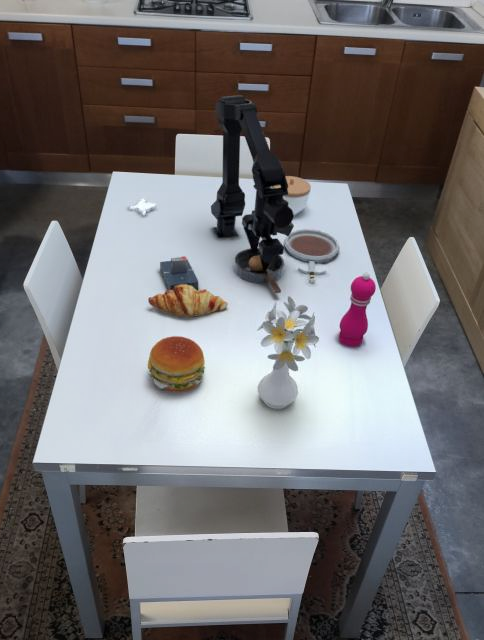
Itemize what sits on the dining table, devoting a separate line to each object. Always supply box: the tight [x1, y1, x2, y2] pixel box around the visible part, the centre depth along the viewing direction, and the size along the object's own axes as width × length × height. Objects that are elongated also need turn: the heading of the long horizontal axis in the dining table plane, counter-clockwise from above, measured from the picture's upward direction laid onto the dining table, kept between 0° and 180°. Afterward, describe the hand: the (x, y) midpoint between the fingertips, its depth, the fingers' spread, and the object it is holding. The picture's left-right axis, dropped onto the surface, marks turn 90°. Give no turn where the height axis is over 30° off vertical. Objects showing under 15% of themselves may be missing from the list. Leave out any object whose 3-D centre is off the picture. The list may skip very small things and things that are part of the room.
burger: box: [147, 335, 206, 393], centre depth 150 cm, size 13×14×10 cm
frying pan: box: [283, 228, 340, 285], centre depth 193 cm, size 17×3×28 cm
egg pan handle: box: [265, 274, 282, 294], centre depth 178 cm, size 8×2×1 cm, turn 18°
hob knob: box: [170, 255, 188, 274], centre depth 178 cm, size 4×2×4 cm, turn 107°
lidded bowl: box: [272, 175, 312, 217], centre depth 210 cm, size 13×13×11 cm
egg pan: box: [233, 247, 285, 284], centre depth 186 cm, size 14×14×4 cm
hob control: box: [159, 259, 199, 291], centre depth 180 cm, size 12×8×3 cm
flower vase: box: [256, 295, 320, 410], centre depth 141 cm, size 13×18×25 cm
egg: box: [249, 255, 270, 272], centre depth 186 cm, size 4×6×4 cm
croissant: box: [147, 284, 229, 318], centre depth 171 cm, size 21×10×8 cm, turn 95°
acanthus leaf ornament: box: [129, 198, 157, 217], centre depth 208 cm, size 8×7×2 cm
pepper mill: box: [338, 272, 377, 348], centre depth 161 cm, size 7×7×20 cm
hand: (259, 261), depth 185 cm, fingers open, 9 cm apart
